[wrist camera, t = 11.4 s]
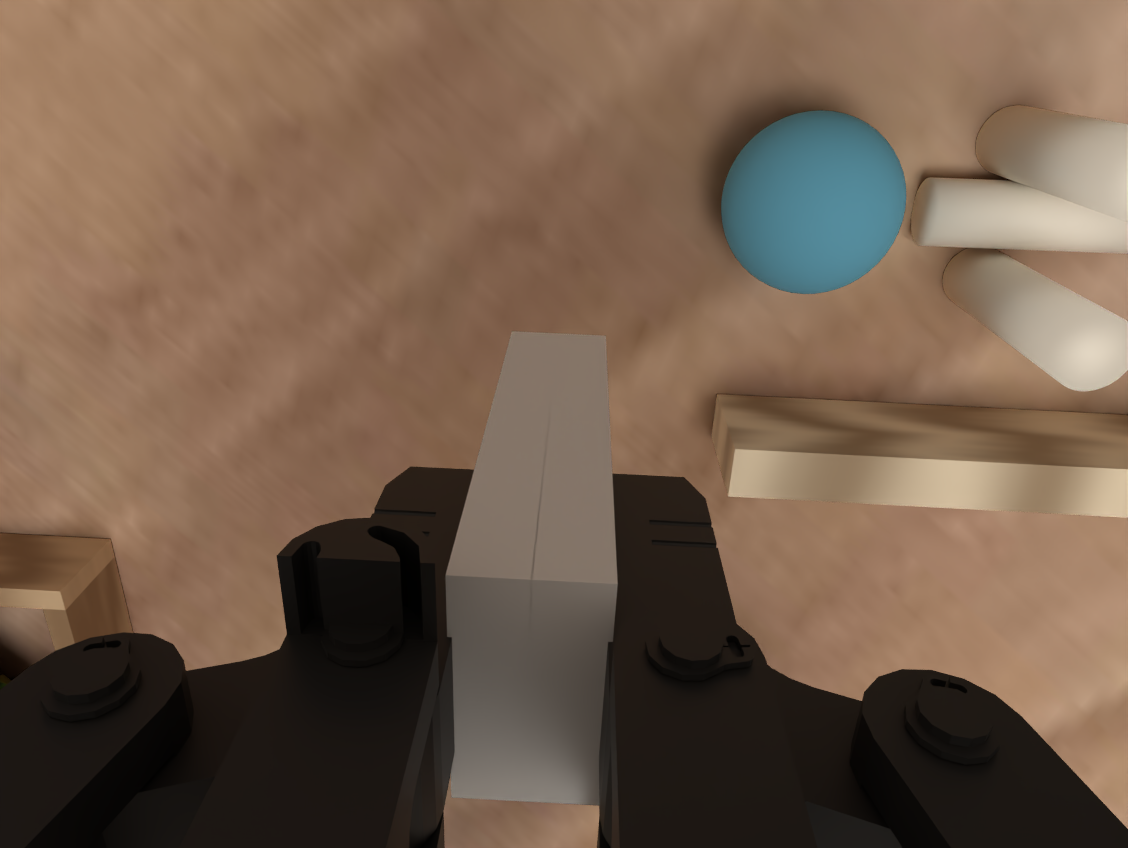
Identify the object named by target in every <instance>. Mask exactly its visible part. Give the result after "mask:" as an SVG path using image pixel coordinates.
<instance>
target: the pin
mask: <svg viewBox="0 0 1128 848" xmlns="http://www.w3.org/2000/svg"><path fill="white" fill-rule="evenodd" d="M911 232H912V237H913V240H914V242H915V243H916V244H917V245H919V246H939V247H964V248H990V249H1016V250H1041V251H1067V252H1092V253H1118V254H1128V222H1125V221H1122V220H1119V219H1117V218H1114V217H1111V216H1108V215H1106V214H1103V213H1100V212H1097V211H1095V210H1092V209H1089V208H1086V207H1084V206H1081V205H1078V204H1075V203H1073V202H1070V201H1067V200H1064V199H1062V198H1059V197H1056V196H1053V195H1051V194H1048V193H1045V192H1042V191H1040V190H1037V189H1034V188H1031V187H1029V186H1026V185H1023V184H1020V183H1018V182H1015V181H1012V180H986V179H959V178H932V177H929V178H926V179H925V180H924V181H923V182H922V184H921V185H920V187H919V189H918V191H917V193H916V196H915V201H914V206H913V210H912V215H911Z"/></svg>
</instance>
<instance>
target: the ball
mask: <svg viewBox="0 0 1128 848" xmlns="http://www.w3.org/2000/svg"><path fill="white" fill-rule="evenodd" d="M905 206H906V183H905V178H904V173H903V170H902V167H901V164H900V162H899V159H898V158H897V156H896V154H895V152H894V150H893V149H892V147H891V146H890V144H889V143H888V142H887V140H886V139H885V138H884V137H883V136H882V135H881V134H880V133H879V132H878V131H877V130H875V129H874V128H873V127H871V126H870V125H869V124H867V123H866V122H864V121H862V120H860V119H858V118H856V117H853V116H850V115H848V114H844V113H840V112H835V111H823V110H818V111H807V112H802V113H797V114H793V115H790V116H788V117H785V118H782V119H780V120H778V121H776V122H774V123H772V124H771V125H769V126H768V127H766V128H764V129H763V130H761V131H760V132H759V133H758V134H757V135H756V136H754V137H753V138H752V139H751V140H750V141H749V142H748V143H747V144H746V145H745V147H744V148H743V149H742V150H741V152H740V153H739V155H738V156H737V157H736V159H735V161H734V163H733V164H732V166H731V168H730V170H729V173H728V175H727V178H726V181H725V185H724V188H723V193H722V201H721V216H722V224H723V229H724V233H725V236H726V239H727V242H728V244H729V246H730V249H731V250H732V252H733V254H734V255H735V257H736V258H737V260H738V261H739V262H740V264H741V265H742V266H743V267H744V268H745V269H746V270H747V271H748V272H749V273H750V274H751V275H753V276H754V277H756V278H757V279H758V280H760V281H762V282H764V283H765V284H767V285H769V286H771V287H774V288H777V289H779V290H783V291H787V292H791V293H800V294H815V293H822V292H828V291H831V290H835V289H838V288H841V287H843V286H846V285H848V284H850V283H852V282H854V281H855V280H857V279H859V278H860V277H862V276H863V275H865V274H866V273H867V272H869V271H870V270H871V269H872V268H873V267H874V266H875V265H877V264H878V262H879V261H880V260H881V259H882V258H883V257H884V256H885V254H886V253H887V251H888V250H889V248H890V247H891V246H892V244H893V242H894V240H895V238H896V236H897V234H898V232H899V229H900V227H901V224H902V221H903V217H904V212H905Z"/></svg>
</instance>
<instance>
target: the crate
mask: <svg viewBox="0 0 1128 848" xmlns="http://www.w3.org/2000/svg"><path fill="white" fill-rule="evenodd" d="M0 607H18V608H36V609H43V612H44V615H45V618H46V622H47V625H48V628H49V632H50V635H51V639H52V642H53V645H54V649H55V651H56V650H59V649H61V648H64V647H67V646H69V645H72V644H75V643H77V642H80V641H83V640H85V639H88V638H91V637H97V636H104V635H110V634H116V633H122V632H126V633H133V631H132V627H131V622H130V618H129V614H128V610H127V606H126V602H125V598H124V593H123V589H122V585H121V581H120V577H119V573H118V569H117V564H116V560H115V556H114V552H113V548H112V544H111V539H100V538H81V537H63V536H45V535H26V534H8V533H0Z"/></svg>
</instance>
